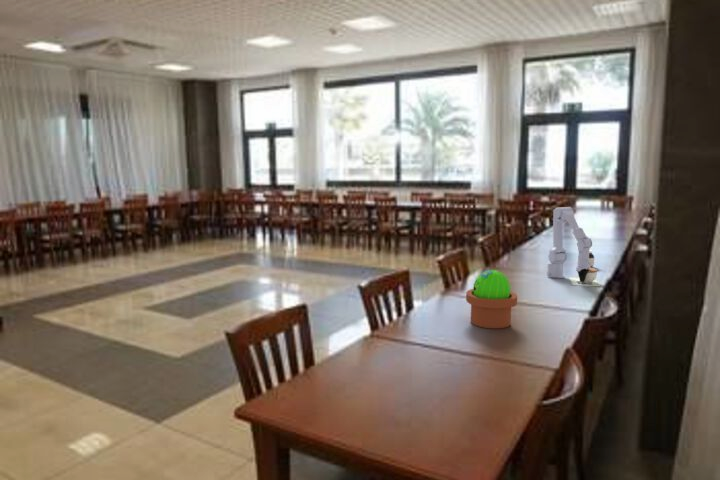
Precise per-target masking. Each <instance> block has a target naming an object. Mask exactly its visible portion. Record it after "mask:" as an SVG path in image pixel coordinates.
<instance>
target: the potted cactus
mask: <svg viewBox="0 0 720 480" xmlns="http://www.w3.org/2000/svg"><path fill="white" fill-rule="evenodd" d="M508 278H509V277H508ZM508 278H507V276H506V275H505V274H504V273H502V271H501V272H500V271H499V270H497V269H496V270H495V269H491V268H490V270H488V269H486V270H485V271H482V272H481V273H480V274H479V275H477V278H475V280H474V283H473V287H472V288H471V289H468V290H466V292H465V293H466V296H465V300H466V302H467V303H468V304H469V305H470V322H471V323H472V324H473V325H474V326H475V327H476V326H477V327H480V328H482V329H483V328H484V329H496V330H497V329H506V328H508V327H509V326H510V325H511V323H512V322H511V321H512V320H511V319H512V318H511V317H512V308H514V307H516V306H517V305H518V304H517V303H518V295H517V294H516V293H515V292H513V291H511V288H512V287H511V285H510V282H509V281H510V279H508Z"/></svg>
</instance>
